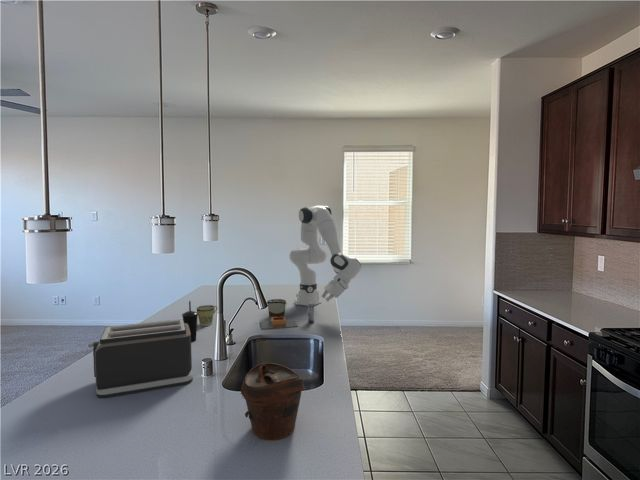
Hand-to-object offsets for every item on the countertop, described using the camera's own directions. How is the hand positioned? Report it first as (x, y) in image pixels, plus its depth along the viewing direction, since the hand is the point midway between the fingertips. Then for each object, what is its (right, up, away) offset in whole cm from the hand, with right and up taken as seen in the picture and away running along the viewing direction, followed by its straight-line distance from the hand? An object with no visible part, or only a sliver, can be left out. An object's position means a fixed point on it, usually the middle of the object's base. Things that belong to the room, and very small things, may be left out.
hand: (324, 298), depth 225 cm
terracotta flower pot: (-16, -21, -111) cm, 114 cm away
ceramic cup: (-67, -14, -3) cm, 68 cm away
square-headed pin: (-8, -14, -1) cm, 16 cm away
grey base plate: (-26, -14, -5) cm, 30 cm away
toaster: (-69, -20, -79) cm, 107 cm away
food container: (-29, -13, +14) cm, 34 cm away
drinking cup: (-67, -16, -32) cm, 76 cm away
